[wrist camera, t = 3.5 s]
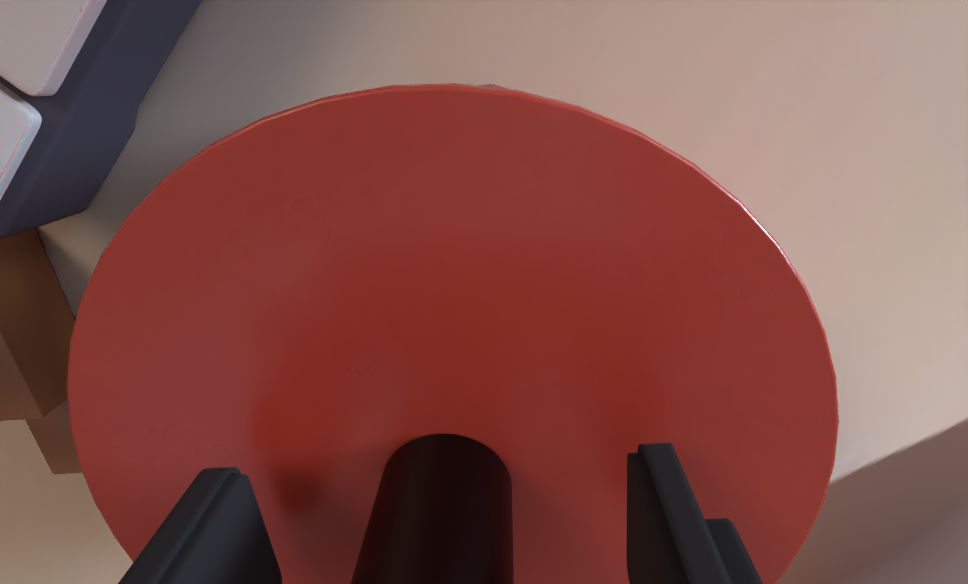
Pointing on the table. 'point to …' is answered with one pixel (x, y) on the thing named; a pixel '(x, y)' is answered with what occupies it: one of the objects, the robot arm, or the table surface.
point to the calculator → (73, 96)
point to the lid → (450, 343)
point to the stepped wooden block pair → (35, 348)
